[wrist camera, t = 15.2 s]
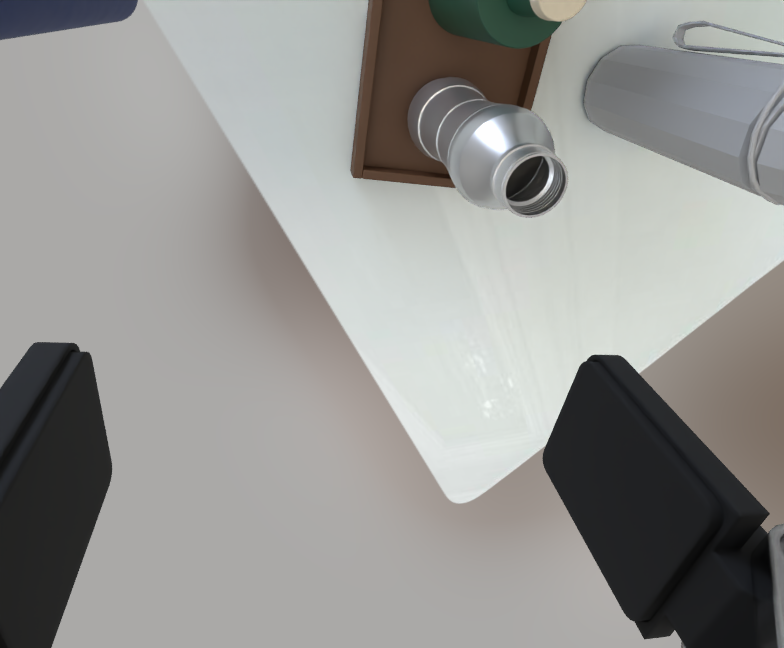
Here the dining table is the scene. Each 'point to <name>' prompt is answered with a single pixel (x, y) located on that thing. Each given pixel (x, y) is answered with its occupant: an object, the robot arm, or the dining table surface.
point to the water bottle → (697, 108)
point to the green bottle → (504, 19)
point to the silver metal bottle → (488, 148)
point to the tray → (414, 70)
